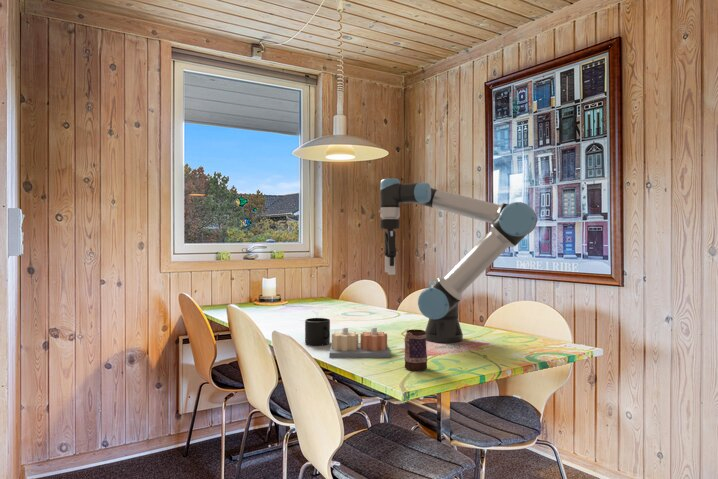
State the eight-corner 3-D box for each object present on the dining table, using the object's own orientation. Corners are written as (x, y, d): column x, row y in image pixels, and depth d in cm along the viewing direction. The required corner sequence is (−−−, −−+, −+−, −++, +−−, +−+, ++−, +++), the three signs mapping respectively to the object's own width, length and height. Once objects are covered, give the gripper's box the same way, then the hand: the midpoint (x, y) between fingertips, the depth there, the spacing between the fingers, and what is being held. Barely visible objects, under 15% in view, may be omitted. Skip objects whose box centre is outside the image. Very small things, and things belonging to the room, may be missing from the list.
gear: (386, 344, 182) (386, 331, 182) (387, 350, 173) (388, 336, 173) (360, 344, 182) (360, 331, 182) (360, 350, 173) (360, 336, 173)
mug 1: (319, 348, 183) (319, 323, 183) (300, 343, 192) (300, 319, 192) (339, 344, 189) (339, 320, 189) (319, 339, 198) (319, 317, 198)
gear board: (386, 347, 186) (387, 324, 185) (390, 357, 170) (390, 332, 169) (331, 347, 185) (331, 324, 185) (329, 357, 169) (329, 332, 169)
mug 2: (411, 364, 161) (411, 327, 160) (431, 367, 157) (431, 329, 156) (395, 371, 152) (395, 331, 152) (416, 375, 148) (416, 334, 148)
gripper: (378, 219, 207) (378, 271, 207) (382, 217, 182) (382, 275, 182) (396, 219, 207) (396, 271, 207) (403, 217, 182) (403, 275, 182)
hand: (389, 273), depth 195 cm, fingers open, 13 cm apart
